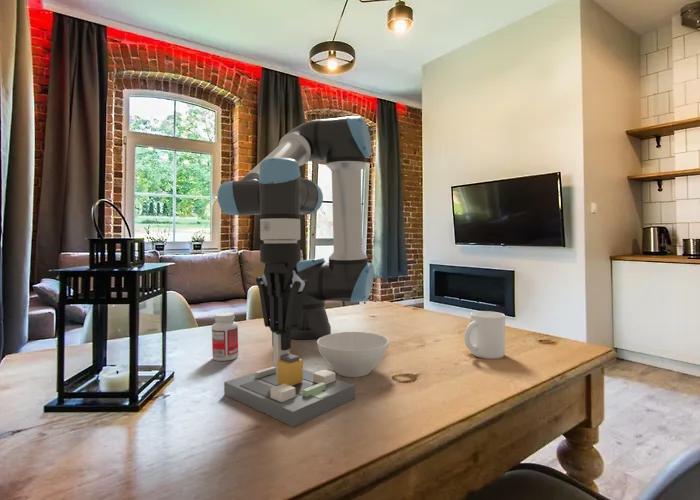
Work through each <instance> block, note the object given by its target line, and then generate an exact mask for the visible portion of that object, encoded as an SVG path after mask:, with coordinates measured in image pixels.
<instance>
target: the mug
mask: <svg viewBox="0 0 700 500" xmlns="http://www.w3.org/2000/svg"><path fill="white" fill-rule="evenodd" d="M464 343H465V347H466V348H467V349H468V350H469V351H470V353H471V354H472V355H473V356H475V357H477V358H480V359H487V360H488V359H489V360H491V359H495V360H497V359H498V360H499V359H502V358H503V357H504V356H505V354H506V315H505V314H504V313H502V312H497V311H489V310H480V311H479V310H477V311H472V312H470V322H469V324H468V325H467V327H466V329H465V332H464Z"/></svg>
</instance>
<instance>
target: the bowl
mask: <svg viewBox="0 0 700 500" xmlns="http://www.w3.org/2000/svg"><path fill="white" fill-rule="evenodd" d="M389 341H390V340H389V338H387V337H386V336H383V335H380V334H376V333H371V332H363V331H360V332H359V331H345V332H344V331H343V332H335V333H330V334H329V335H326V336H323V337H321V338H317V339H316V343H317V350H318V351H319V353H320V355H321V357H322V358H323V359H324V360H325V361H326V362H327V363H328V364H329V365H330V366H331V368H332V369H333V370H334V372H335V374H336V375H339V376H341V377H345V378H361V377H365V376H368V375H369V374H370V373H371V371H373V368H374V367H375V366H376V365H378V363H379V362H380V361H381V360H382V359H383V358H384V357H385V355H386V353H387V350H388V348H389V343H390V342H389Z"/></svg>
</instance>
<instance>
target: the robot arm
mask: <svg viewBox="0 0 700 500" xmlns="http://www.w3.org/2000/svg"><path fill="white" fill-rule="evenodd" d="M372 147H373V146H372V138H371V135H370V131H369V127H368V125H367V121H366V120H365V119H364V118H363V117H362V116H348V115H347V116H340V117H334V118H333V117H330V118H322V119H320V118H319V119H311V120H309V121H305V122H303V123H301V124H300V125H298V126H296V127H294V128H293V129H291V130H290V131H288V132H287V133H286V134H284V135H283V136H282V137H281V139H280V140H279V142H278V146H277V147H275V149H273V150H272V151H271V152H270V153H268V155H267V156H265V157H264V158H263V159H262V160H261V161H260V162H259V163H258V164H257V165H255V166H254V167H253V168H252V169H251V170H249V172H248V173H246V174H245V175H244V176H243V177H242V178H240V179H239V180H231V181H224V182H222V183H221V185H220V186H219V188H218V190H217V202H218V205H219V208H220V210H221V211H222V212H223V213H224V214H226V215H230V216H231V215H232V216H239V217H241V216H254V215H255V216H256V215H257V216H259V222H260V223H259V224H260V225H259V227H260V228H259V229H260V231H259V234H260V235H259V238H260V240H261V241H263V243H261V244H260V245H259V258H260V263H262V264H265V266H264V269H263V274H262V275H261V276H259V277H258V276H257V277H256V278H255V282H256V285H257V288H258V291H259V298H260V304H261V305H260V306H261V311H262V318H263V324H264V327H265V328H269V329H270V331H271V334H272V335H271V338H272V339H271V342H272V343H271V344H272V348H273V353H272V355H273V366H274V367H276V368H277V361H279V360H281V355H285V354H288V353H289V354H291V352H290V350H291V349H292V347H291V346H292V345H291V344H292V339H294V340H314V339H319V338H321V337H323V336H326V335H329V334H332V333H331V332H332V329H331V327H332V326H331V323H330V321H329V317H328V315H327V311H326V303H325V302H346V303H347V302H350V303H354V302H355V303H357V302H359V303H361V302H362V303H363V302H365V301H367V300H368V299H369V297H370V295H371V291H372V289H373V283H374V282H373V281H374V274H375V272H374V271H375V269H374V265H373V263H371V262H368V261H369V260H368V256H367V254H366V253H364V251H363V230H362V229H363V225H362V224H363V223H362V221H363V219H362V217H363V216H362V173H361V172H362V169H363V168H364V167H365V166H366V163H367V162H366V161H367V159H369V158H370V157H371V156H372V149H373V148H372ZM312 161H325V163H326V164H325V165H326V167H327V168H329V170H330V171H331V194H332V195H331V197H332V198H331V200H332V202H331V203H332V230H333V233H332V236H333V238H332V239H333V252H332V254H330V255H329V256H328V262H326V260H325V258H324V257H321V258H320V257H319V258H312V259H304V260H303V259H302V260H301V244H300V243H299V242H298V241H300V240H301V216H308V215H312V214H315V213H316V212H318V211H319V209H321V206H322V204H323V201H324V195H323V191H322V189H321V187H320V186H319V185H318V184H317V183H315V182H313V181H312V180H311V179H307V178H303V177H301V175H302V174H301V170H300V167H302V166H304V165H305V164H307V163H309V162H312Z"/></svg>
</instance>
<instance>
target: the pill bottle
mask: <svg viewBox="0 0 700 500" xmlns="http://www.w3.org/2000/svg"><path fill="white" fill-rule="evenodd" d="M235 316H236V315H235V312H232V311H231V312H230V311H229V312H219V313H215V315H214V321H215V322H214V323H213V324H212V326H211V342H212V346H211V347H212V349H211V350H212V360H214V361H216V362H217V361H218V362H224V361H225V362H227V361H231V360H235V359H237V358H238V356H239V327H238V323H237V322H236V321H234V320H235V319H236V317H235Z"/></svg>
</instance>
